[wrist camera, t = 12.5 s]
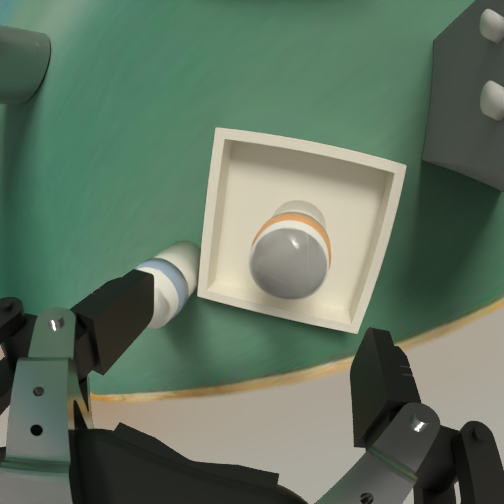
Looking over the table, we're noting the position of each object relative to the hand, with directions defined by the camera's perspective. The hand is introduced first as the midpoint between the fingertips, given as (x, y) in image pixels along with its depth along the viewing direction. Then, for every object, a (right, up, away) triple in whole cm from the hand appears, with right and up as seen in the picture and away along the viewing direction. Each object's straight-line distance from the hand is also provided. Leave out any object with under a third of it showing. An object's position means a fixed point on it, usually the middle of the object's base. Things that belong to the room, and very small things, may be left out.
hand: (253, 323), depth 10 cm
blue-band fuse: (-6, +1, +14) cm, 15 cm away
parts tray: (+3, +4, +11) cm, 12 cm away
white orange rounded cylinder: (+3, +4, +11) cm, 12 cm away
